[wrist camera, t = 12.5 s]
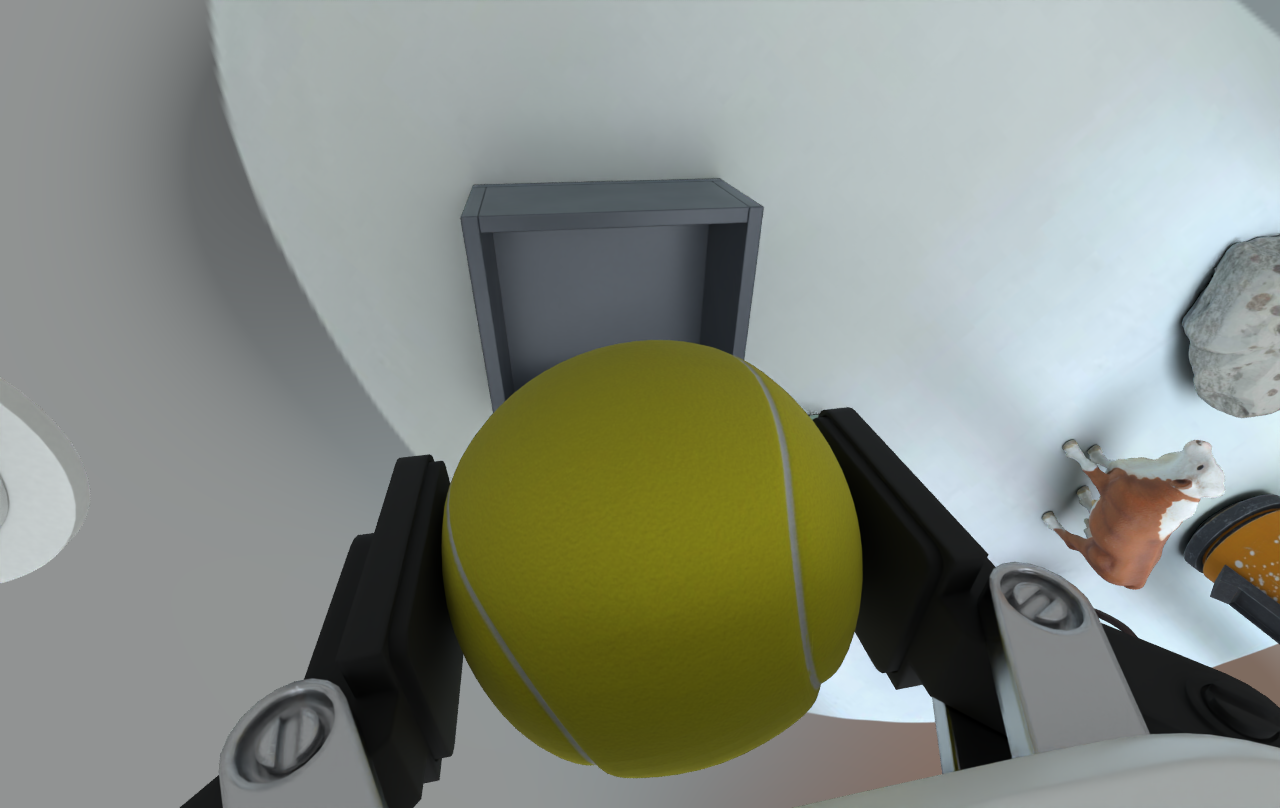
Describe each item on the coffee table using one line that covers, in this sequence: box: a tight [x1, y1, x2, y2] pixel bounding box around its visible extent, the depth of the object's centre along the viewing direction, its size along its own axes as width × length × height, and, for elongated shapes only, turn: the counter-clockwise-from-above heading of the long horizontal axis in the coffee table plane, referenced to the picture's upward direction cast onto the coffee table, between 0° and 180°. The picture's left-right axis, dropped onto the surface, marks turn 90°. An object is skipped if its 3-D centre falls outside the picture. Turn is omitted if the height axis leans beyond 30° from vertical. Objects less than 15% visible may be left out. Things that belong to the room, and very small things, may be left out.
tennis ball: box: [441, 340, 863, 778], centre depth 10 cm, size 7×7×7 cm
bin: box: [460, 178, 764, 413], centre depth 25 cm, size 11×11×6 cm
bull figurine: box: [1042, 440, 1225, 589], centre depth 38 cm, size 4×13×8 cm, turn 8°
